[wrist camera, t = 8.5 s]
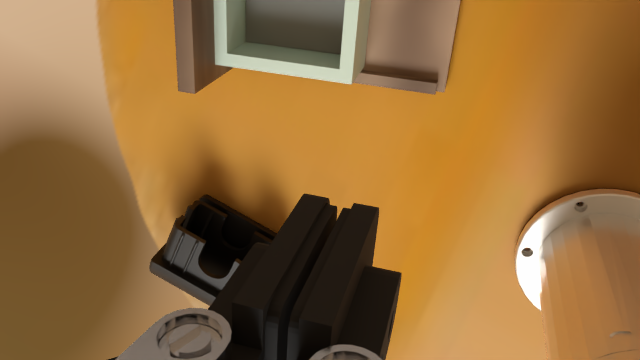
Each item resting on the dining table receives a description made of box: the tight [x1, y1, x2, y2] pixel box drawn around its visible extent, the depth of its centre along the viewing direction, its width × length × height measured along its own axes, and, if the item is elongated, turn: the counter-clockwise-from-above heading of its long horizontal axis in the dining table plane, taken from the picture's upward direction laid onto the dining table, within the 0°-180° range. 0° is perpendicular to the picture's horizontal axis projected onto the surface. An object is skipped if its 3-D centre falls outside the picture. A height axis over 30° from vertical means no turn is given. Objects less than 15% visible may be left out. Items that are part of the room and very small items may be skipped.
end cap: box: [150, 195, 277, 306], centre depth 51 cm, size 10×7×7 cm
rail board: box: [173, 0, 461, 94], centre depth 37 cm, size 17×12×9 cm
